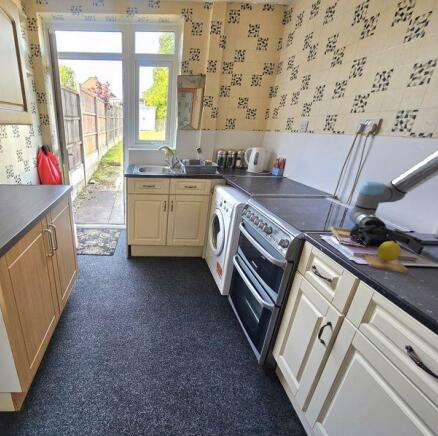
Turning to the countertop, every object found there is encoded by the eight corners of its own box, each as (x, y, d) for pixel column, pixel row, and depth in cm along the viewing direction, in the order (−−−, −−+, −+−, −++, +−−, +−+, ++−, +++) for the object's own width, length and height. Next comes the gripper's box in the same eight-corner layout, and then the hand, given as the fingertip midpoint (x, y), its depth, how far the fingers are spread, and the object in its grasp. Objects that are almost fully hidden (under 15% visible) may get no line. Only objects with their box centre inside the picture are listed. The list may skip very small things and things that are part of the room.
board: (396, 261, 88) (397, 259, 88) (407, 273, 82) (409, 270, 81) (362, 255, 92) (363, 253, 92) (370, 266, 85) (371, 263, 85)
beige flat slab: (352, 232, 113) (353, 229, 112) (365, 247, 98) (366, 244, 98) (329, 228, 116) (330, 226, 115) (339, 243, 102) (340, 240, 101)
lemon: (370, 258, 88) (378, 238, 85) (380, 256, 90) (389, 236, 87) (388, 266, 83) (397, 245, 80) (399, 264, 85) (408, 243, 82)
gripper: (405, 238, 98) (438, 264, 80) (331, 227, 107) (345, 248, 89) (413, 221, 95) (449, 244, 77) (336, 211, 104) (352, 229, 86)
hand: (394, 246), depth 83 cm, fingers open, 13 cm apart
